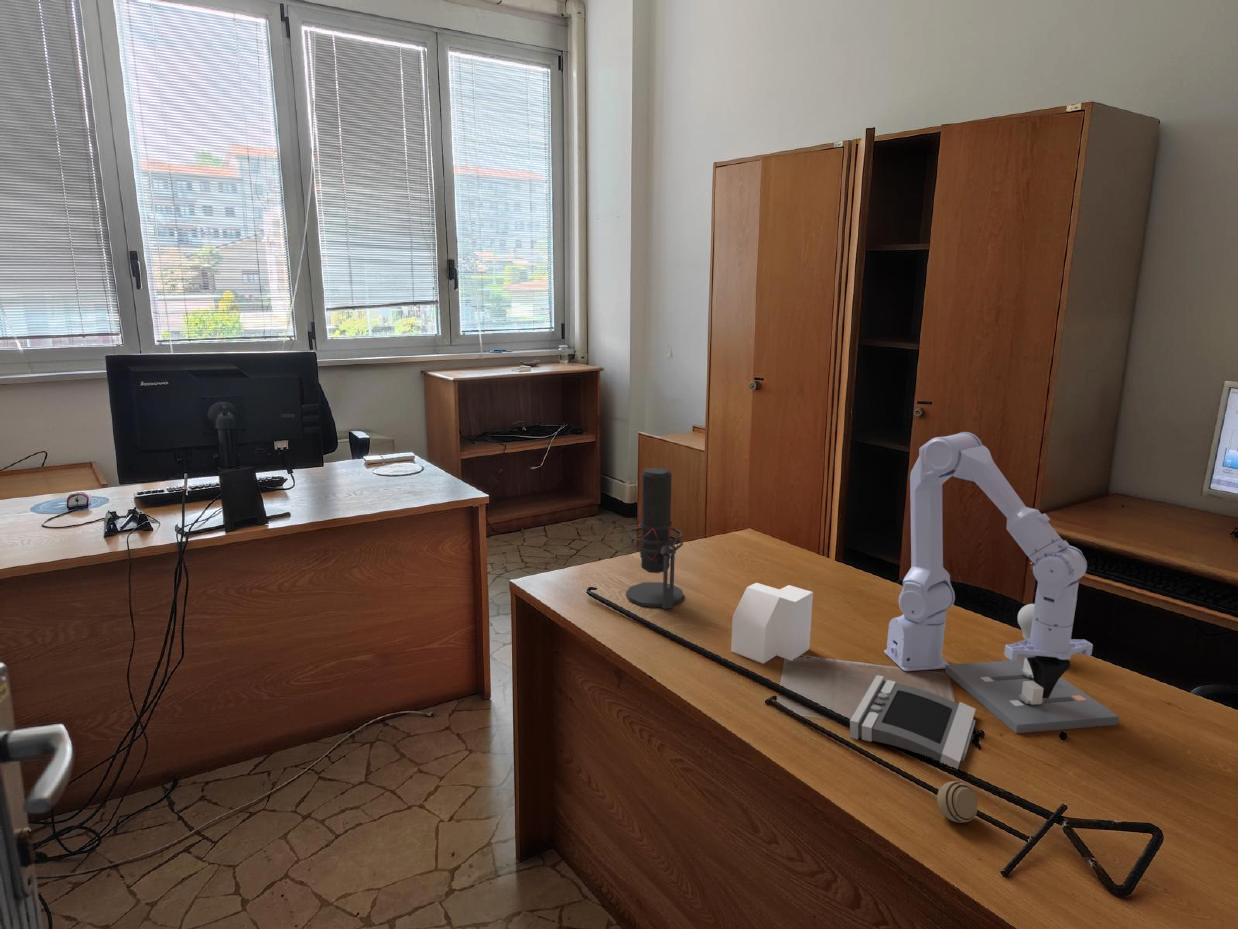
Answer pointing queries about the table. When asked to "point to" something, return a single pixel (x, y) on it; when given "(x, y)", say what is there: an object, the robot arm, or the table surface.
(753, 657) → the white chamfered block
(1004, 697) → the panel
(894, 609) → the table surface
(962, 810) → the door knob
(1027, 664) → the breaker on
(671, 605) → the microphone
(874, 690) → the alarm clock
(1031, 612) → the light bulb
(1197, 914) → the table surface
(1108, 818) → the table surface
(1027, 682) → the breaker
